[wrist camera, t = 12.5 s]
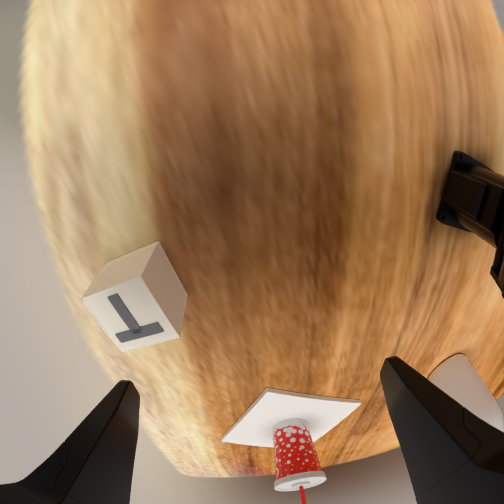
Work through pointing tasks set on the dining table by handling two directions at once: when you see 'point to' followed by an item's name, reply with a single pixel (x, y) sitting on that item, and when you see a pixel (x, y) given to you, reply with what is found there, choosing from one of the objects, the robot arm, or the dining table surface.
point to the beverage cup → (295, 457)
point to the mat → (287, 416)
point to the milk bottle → (467, 389)
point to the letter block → (138, 299)
